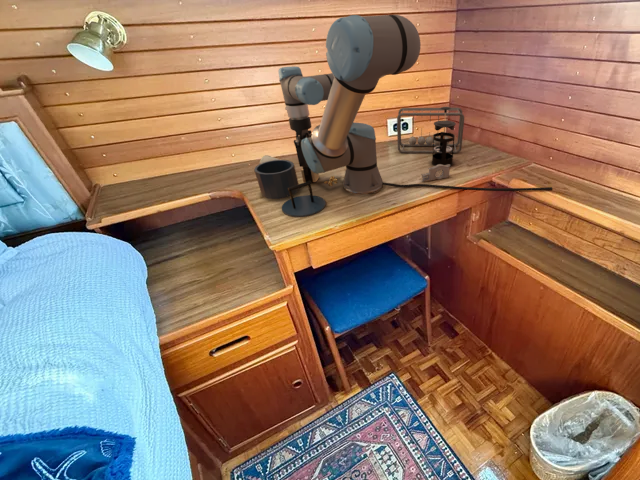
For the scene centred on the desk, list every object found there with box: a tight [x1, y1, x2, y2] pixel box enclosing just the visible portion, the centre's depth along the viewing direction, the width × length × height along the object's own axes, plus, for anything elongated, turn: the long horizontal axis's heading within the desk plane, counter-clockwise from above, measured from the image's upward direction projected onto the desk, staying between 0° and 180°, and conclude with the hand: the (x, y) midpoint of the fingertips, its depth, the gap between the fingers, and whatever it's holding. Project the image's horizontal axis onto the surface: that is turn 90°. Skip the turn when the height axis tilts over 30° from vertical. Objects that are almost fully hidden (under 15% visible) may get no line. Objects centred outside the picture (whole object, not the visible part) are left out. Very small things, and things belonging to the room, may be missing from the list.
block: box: [300, 167, 320, 183], centre depth 131 cm, size 5×5×5 cm
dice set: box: [324, 175, 339, 187], centre depth 130 cm, size 5×5×2 cm
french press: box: [431, 106, 456, 167], centre depth 139 cm, size 12×9×23 cm
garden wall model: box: [421, 164, 451, 182], centre depth 131 cm, size 12×2×6 cm, turn 110°
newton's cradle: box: [396, 107, 465, 154], centre depth 155 cm, size 30×10×18 cm, turn 87°
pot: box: [253, 159, 300, 200], centre depth 123 cm, size 14×14×10 cm
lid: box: [281, 181, 327, 218], centre depth 113 cm, size 15×15×9 cm
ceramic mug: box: [258, 154, 281, 165], centre depth 138 cm, size 11×8×8 cm
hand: (311, 178), depth 132 cm, fingers closed on block, 5 cm apart
